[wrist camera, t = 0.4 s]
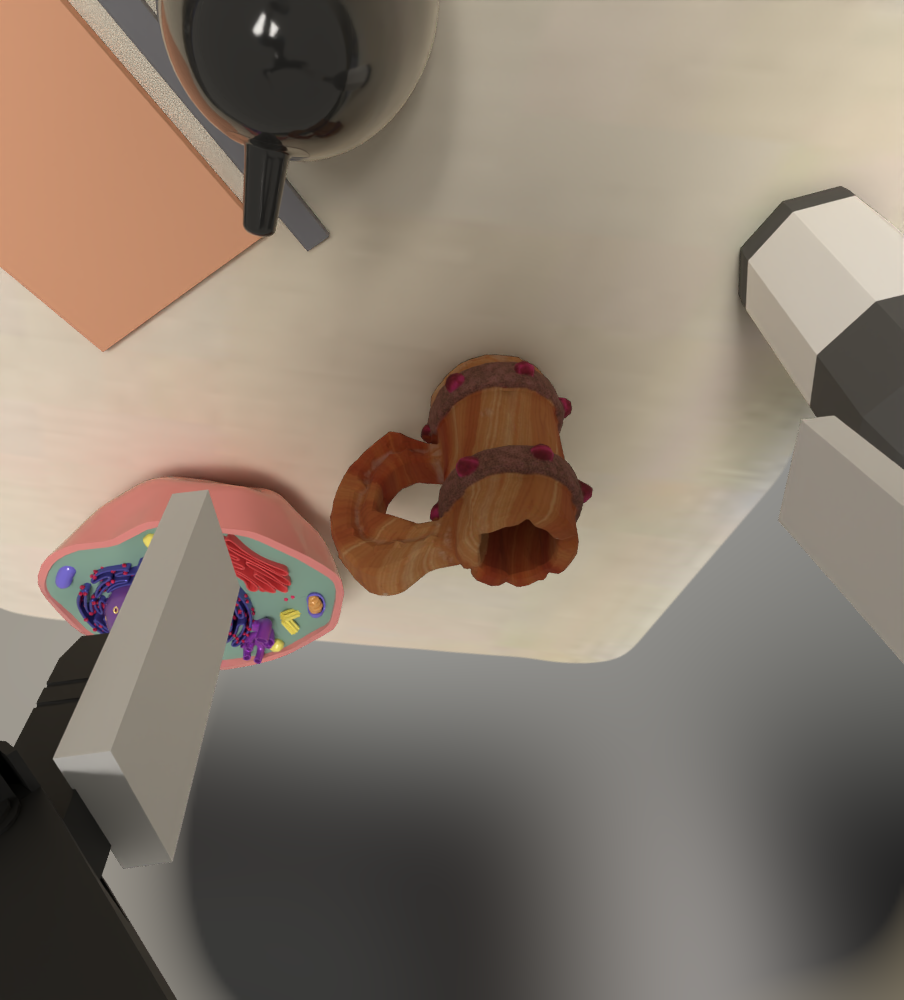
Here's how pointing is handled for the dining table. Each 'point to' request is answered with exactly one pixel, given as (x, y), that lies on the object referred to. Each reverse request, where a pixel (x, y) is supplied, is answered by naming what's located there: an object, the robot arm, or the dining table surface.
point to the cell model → (252, 548)
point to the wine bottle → (834, 309)
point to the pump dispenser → (295, 78)
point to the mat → (99, 181)
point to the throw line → (144, 32)
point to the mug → (468, 485)
